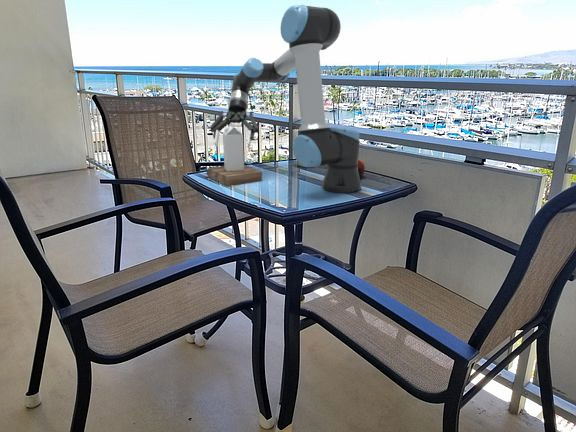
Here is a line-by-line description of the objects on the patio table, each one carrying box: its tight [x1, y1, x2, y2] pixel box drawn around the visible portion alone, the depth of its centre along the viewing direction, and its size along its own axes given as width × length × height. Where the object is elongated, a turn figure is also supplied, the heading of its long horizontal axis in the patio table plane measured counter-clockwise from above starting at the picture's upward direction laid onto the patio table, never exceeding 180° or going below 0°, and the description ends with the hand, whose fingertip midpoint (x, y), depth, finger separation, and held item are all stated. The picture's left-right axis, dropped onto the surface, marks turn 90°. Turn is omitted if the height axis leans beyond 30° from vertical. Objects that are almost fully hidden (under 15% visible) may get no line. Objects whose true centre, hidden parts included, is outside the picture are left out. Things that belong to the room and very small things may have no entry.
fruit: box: [358, 158, 366, 178], centre depth 179 cm, size 9×10×10 cm
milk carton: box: [222, 122, 245, 172], centre depth 172 cm, size 7×7×19 cm
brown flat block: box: [206, 164, 263, 187], centre depth 177 cm, size 20×16×4 cm
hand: (232, 145), depth 170 cm, fingers open, 13 cm apart
